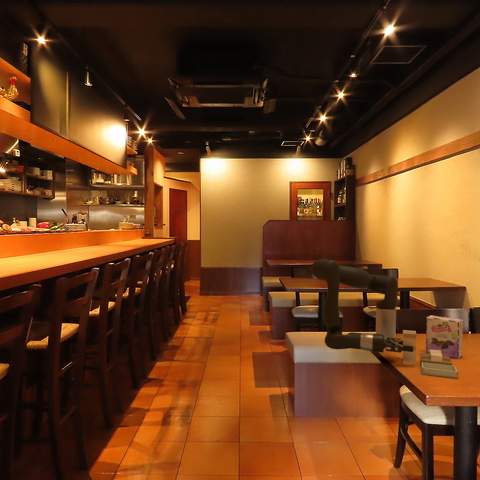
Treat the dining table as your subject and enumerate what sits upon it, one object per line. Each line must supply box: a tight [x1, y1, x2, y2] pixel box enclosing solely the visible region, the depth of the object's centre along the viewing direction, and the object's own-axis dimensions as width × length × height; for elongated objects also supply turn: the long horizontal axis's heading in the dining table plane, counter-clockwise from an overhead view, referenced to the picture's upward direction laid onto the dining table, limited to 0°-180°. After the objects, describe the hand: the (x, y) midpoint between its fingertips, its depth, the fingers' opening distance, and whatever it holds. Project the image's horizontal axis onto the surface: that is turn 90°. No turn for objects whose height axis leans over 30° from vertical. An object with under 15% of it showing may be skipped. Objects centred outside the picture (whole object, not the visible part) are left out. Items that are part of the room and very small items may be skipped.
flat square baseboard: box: [420, 352, 453, 369], centre depth 163 cm, size 11×11×3 cm
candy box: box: [425, 315, 464, 360], centre depth 179 cm, size 14×6×16 cm, turn 44°
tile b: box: [430, 352, 442, 362], centre depth 160 cm, size 4×4×2 cm
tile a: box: [429, 349, 441, 357], centre depth 165 cm, size 4×4×2 cm
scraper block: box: [402, 329, 417, 366], centre depth 167 cm, size 5×5×13 cm
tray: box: [421, 362, 459, 379], centre depth 154 cm, size 8×12×2 cm, turn 68°
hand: (413, 346), depth 166 cm, fingers open, 8 cm apart
